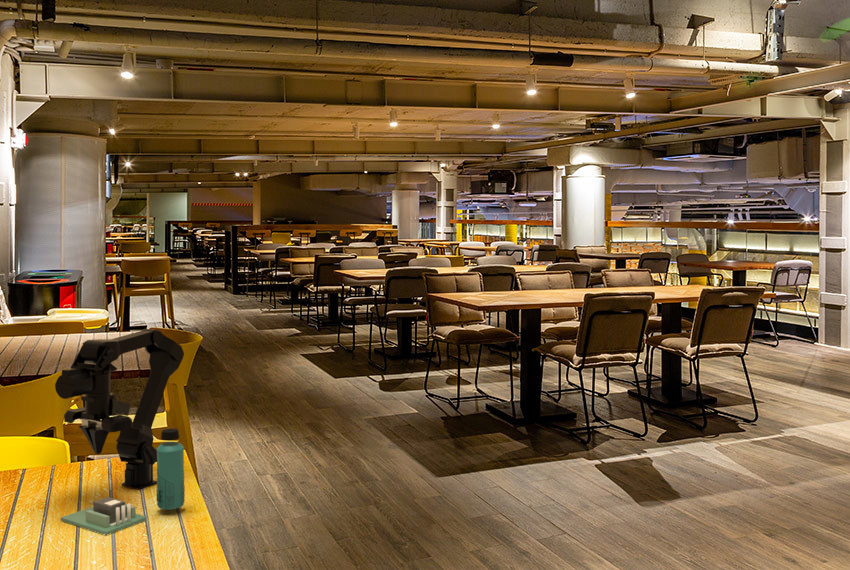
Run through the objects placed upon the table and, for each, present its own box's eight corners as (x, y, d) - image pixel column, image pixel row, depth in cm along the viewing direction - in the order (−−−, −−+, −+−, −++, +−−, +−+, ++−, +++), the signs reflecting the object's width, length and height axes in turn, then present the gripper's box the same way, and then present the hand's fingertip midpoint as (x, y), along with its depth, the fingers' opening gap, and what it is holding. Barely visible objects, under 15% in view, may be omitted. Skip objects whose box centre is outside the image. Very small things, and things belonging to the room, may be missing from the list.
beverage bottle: (190, 509, 186) (190, 428, 185) (170, 518, 180) (170, 434, 179) (170, 504, 189) (170, 424, 188) (150, 513, 183) (149, 430, 182)
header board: (60, 520, 177) (60, 500, 177) (101, 506, 187) (101, 487, 186) (105, 535, 169) (105, 514, 169) (146, 520, 179) (146, 499, 178)
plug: (93, 518, 177) (93, 501, 176) (108, 513, 180) (108, 496, 180) (110, 524, 174) (110, 506, 173) (125, 518, 177) (125, 501, 177)
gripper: (150, 390, 191) (150, 452, 192) (101, 381, 200) (101, 440, 201) (111, 398, 181) (112, 463, 182) (62, 388, 191) (63, 450, 192)
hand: (98, 453), depth 190 cm, fingers closed
